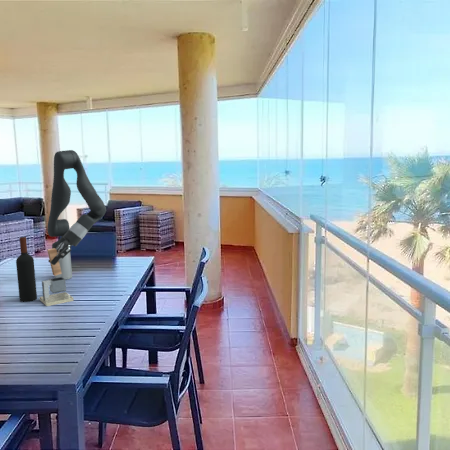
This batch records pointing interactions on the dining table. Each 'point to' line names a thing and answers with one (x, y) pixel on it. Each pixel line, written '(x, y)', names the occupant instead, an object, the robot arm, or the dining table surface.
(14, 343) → the dining table surface
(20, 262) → the wine bottle
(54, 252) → the tan wooden block
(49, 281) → the cup bracket
